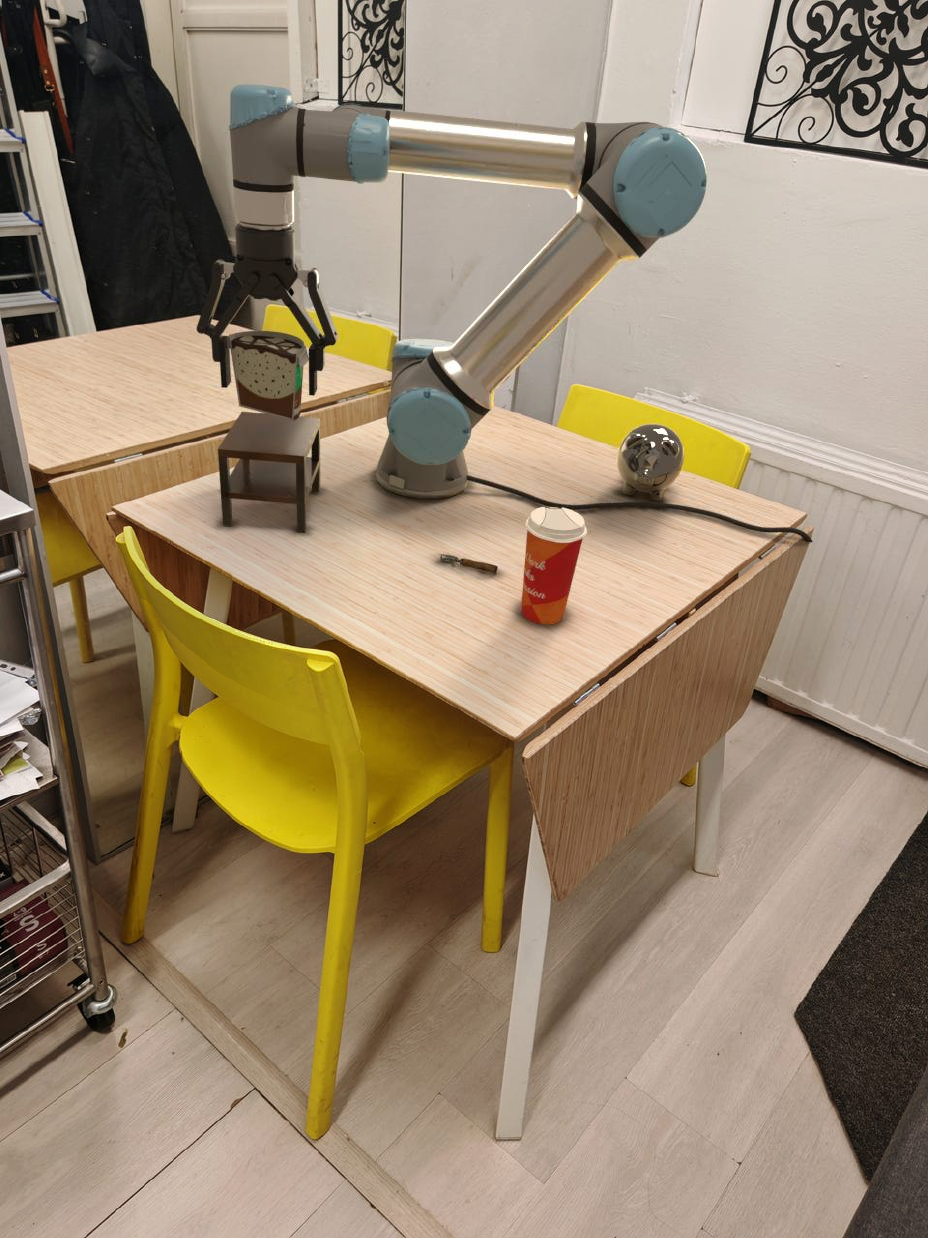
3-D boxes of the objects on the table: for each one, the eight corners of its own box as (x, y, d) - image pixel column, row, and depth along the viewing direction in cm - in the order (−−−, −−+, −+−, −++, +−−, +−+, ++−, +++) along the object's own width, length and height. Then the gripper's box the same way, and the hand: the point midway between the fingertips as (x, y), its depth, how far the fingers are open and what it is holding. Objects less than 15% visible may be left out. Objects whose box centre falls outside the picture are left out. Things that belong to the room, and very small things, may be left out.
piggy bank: (604, 502, 149) (616, 437, 143) (617, 469, 162) (629, 408, 155) (671, 516, 147) (686, 450, 141) (679, 481, 159) (693, 419, 153)
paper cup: (509, 596, 121) (522, 502, 114) (565, 598, 122) (581, 505, 115) (517, 629, 115) (531, 531, 107) (576, 630, 116) (594, 534, 108)
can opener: (498, 571, 126) (498, 564, 126) (491, 578, 125) (492, 571, 124) (440, 554, 129) (441, 547, 129) (433, 561, 127) (434, 553, 127)
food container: (326, 410, 130) (326, 341, 124) (302, 423, 125) (300, 351, 119) (257, 392, 134) (253, 324, 128) (230, 403, 129) (225, 333, 123)
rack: (320, 489, 144) (320, 418, 138) (305, 532, 132) (304, 456, 125) (245, 483, 144) (241, 411, 137) (222, 526, 131) (217, 448, 125)
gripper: (360, 227, 119) (356, 387, 131) (179, 210, 118) (192, 372, 130) (353, 238, 113) (350, 404, 125) (162, 219, 112) (177, 389, 124)
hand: (269, 388), depth 128 cm, fingers closed on food container, 12 cm apart
